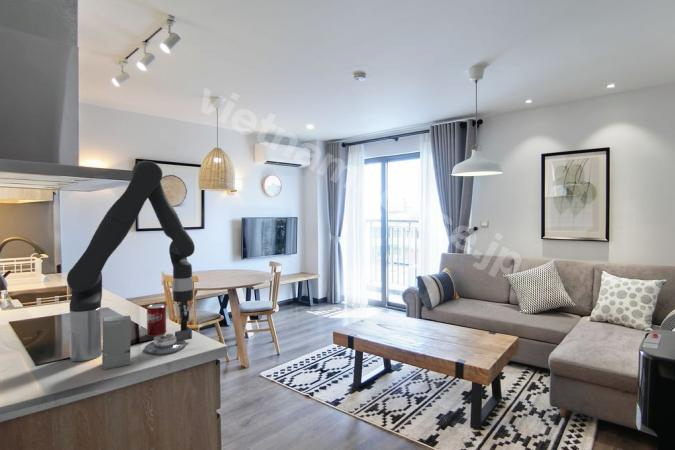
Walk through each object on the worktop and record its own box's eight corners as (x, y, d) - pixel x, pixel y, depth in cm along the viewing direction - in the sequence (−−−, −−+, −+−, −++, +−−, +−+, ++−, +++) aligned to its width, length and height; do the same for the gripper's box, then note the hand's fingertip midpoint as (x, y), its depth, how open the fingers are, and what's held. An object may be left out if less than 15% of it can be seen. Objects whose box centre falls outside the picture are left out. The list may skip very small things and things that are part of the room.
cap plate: (150, 358, 133) (150, 354, 133) (140, 347, 143) (140, 343, 143) (190, 349, 142) (190, 345, 142) (178, 339, 153) (178, 336, 152)
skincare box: (102, 370, 123) (101, 322, 122) (102, 362, 129) (101, 316, 128) (131, 365, 127) (131, 318, 126) (130, 357, 133) (129, 313, 132)
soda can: (158, 337, 154) (158, 308, 154) (143, 336, 156) (142, 307, 155) (169, 332, 161) (169, 304, 161) (155, 330, 163) (154, 303, 162)
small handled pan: (157, 350, 137) (157, 337, 137) (151, 344, 143) (150, 332, 143) (196, 341, 146) (196, 329, 146) (188, 336, 152) (188, 325, 152)
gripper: (195, 290, 147) (196, 334, 148) (190, 284, 159) (191, 325, 160) (174, 292, 144) (175, 337, 144) (170, 286, 155) (171, 328, 156)
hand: (183, 331), depth 152 cm, fingers closed
